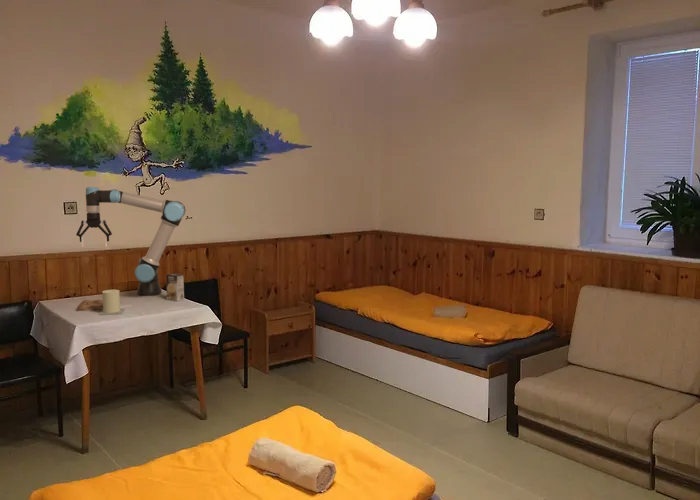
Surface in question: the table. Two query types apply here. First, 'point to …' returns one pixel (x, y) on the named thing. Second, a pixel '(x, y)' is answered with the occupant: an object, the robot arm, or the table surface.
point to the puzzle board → (90, 305)
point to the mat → (112, 313)
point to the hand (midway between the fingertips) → (94, 247)
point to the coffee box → (175, 286)
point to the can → (111, 301)
